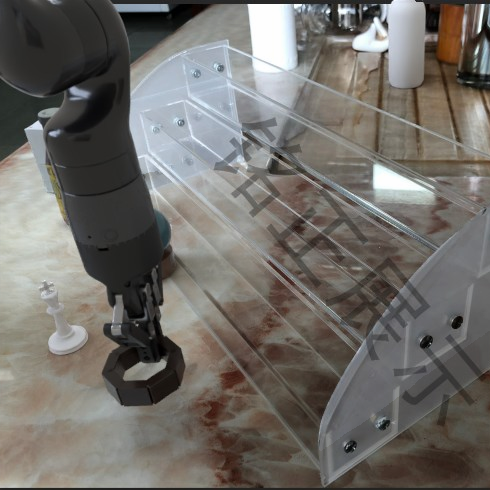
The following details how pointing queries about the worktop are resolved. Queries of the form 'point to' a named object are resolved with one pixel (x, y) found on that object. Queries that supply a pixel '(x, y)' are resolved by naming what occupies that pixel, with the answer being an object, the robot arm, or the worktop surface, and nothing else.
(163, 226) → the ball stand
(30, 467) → the worktop surface
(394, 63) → the white plastic bottle
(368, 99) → the worktop surface
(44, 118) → the sauce bottle
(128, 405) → the walnut ring
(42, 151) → the small box
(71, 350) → the chess piece
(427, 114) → the worktop surface
